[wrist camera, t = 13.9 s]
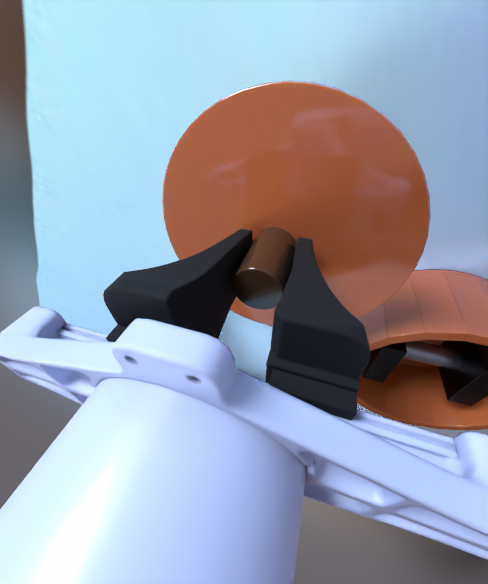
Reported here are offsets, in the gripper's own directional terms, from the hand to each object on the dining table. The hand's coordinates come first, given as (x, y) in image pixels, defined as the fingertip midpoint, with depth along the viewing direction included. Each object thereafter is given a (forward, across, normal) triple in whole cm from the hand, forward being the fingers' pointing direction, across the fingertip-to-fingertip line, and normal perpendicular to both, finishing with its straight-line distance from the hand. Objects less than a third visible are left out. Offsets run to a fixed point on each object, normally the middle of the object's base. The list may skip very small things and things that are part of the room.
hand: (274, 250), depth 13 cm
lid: (+1, 0, 0) cm, 1 cm away
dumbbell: (+6, -12, +10) cm, 17 cm away
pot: (+7, -12, +10) cm, 17 cm away
